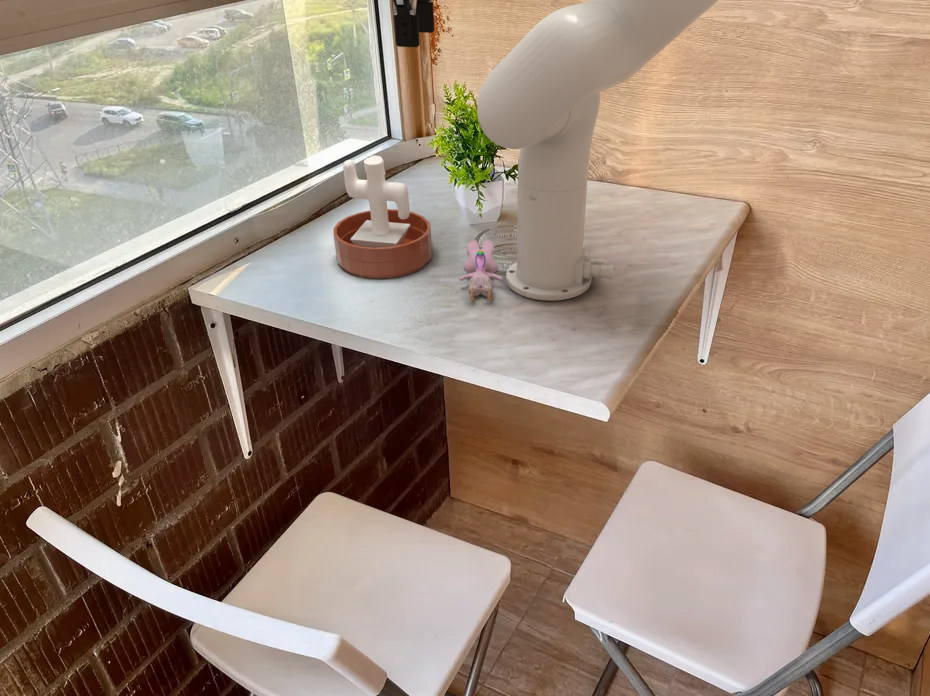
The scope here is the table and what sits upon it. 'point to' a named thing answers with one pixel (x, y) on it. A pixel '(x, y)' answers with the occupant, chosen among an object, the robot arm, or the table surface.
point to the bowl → (384, 258)
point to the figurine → (377, 204)
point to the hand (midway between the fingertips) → (416, 39)
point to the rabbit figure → (480, 269)
